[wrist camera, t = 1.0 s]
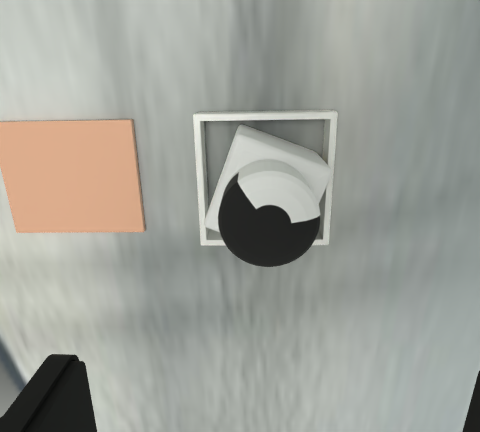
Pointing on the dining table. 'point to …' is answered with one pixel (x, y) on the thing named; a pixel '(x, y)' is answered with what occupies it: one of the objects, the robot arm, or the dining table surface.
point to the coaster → (72, 175)
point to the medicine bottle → (268, 198)
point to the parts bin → (330, 118)
